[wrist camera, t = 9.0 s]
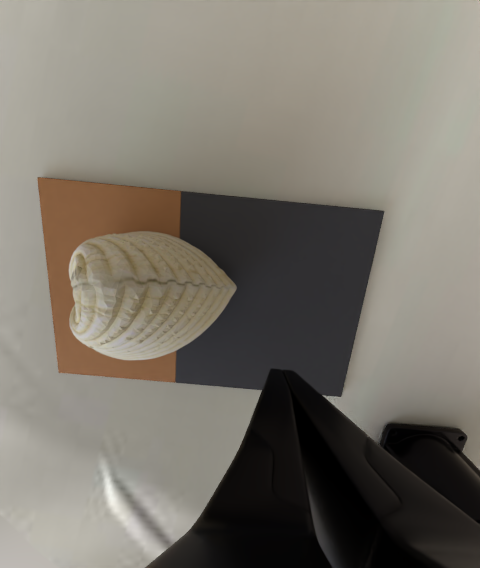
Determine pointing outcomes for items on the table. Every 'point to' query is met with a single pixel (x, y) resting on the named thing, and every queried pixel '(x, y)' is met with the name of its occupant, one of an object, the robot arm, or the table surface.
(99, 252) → the seashell
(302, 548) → the robot arm
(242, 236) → the desk pad
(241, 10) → the table surface
